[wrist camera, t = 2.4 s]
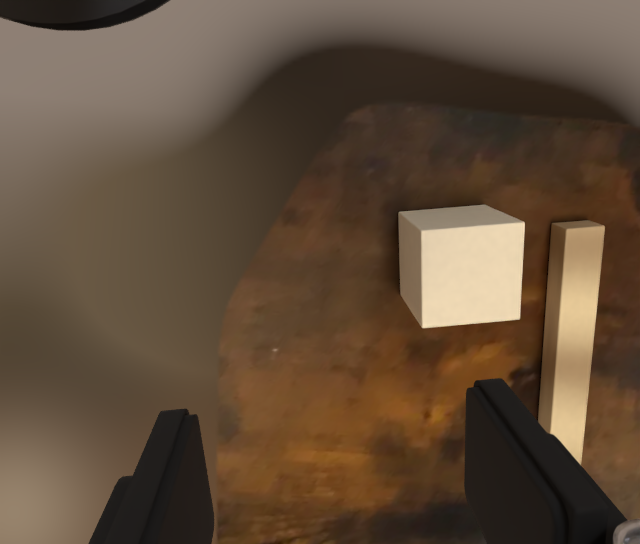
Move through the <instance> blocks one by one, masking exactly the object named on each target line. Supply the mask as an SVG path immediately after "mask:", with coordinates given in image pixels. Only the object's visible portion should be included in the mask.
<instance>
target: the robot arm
mask: <svg viewBox="0 0 640 544" xmlns="http://www.w3.org/2000/svg"><path fill="white" fill-rule="evenodd" d="M464 485H465V494H466V498H467V501H468V504H469V506H470V508H471V510H472V512H473V515H474V517H475V519H476V521H477V523H478V525H479V527H480V529H481V531H482V534H483V536H484V538H485V540H486V542H487V544H640V519H634V520H629V521H628V520H627V519H626V518H625V517H624V516H623V514H622V513H621V512H620V511H619V510H618V509H617V507H616V506H615V505H614V504H613V503H612V502H611V500H610V499H609V498H608V497H607V496H606V494H605V493H604V492H603V491H602V490H601V489H600V487H599V486H598V485H597V484H596V483H595V481H594V480H593V479H592V478H591V477H590V476H589V474H588V473H587V472H586V471H585V470H584V469H583V467H582V466H581V465H580V464H579V463H578V461H577V460H576V459H575V458H574V457H573V456H572V454H571V453H570V452H569V451H568V450H567V449H566V447H565V446H564V445H563V444H562V443H561V441H560V440H559V439H558V438H557V437H556V436H555V435H553V434H550V433H547V432H546V431H545V430H544V428H543V427H542V426H541V425H540V424H539V422H538V421H537V420H536V419H535V418H534V416H533V415H532V414H531V413H530V412H529V410H528V409H527V408H526V407H525V406H524V404H523V403H522V402H521V401H520V399H519V398H518V397H517V396H516V395H515V393H514V392H513V391H512V390H511V389H510V387H509V386H508V385H507V384H506V383H505V381H504V380H502V379H500V378H498V379H488V380H477V381H475V383H474V387H472V388H468V389H467V392H466V431H465V482H464ZM213 531H214V512H213V505H212V499H211V494H210V488H209V481H208V475H207V469H206V463H205V457H204V450H203V444H202V438H201V432H200V426H199V420H198V416H197V415H196V414H195V415H189V412H188V410H187V409H177V410H168V411H161V412H160V413H159V415H158V418H157V420H156V422H155V425H154V427H153V429H152V432H151V434H150V437H149V439H148V441H147V444H146V446H145V448H144V451H143V453H142V455H141V458H140V460H139V462H138V465H137V467H136V469H135V472H134V474H133V476H125V477H122V478H120V479H119V480H118V482H117V484H116V485H115V487H114V490H113V492H112V494H111V496H110V498H109V501H108V503H107V505H106V507H105V509H104V511H103V514H102V516H101V518H100V520H99V522H98V524H97V527H96V529H95V531H94V533H93V535H92V538H91V539H90V542H89V544H211V542H212V537H213Z"/></svg>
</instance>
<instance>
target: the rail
mask: <svg viewBox="0 0 640 544" xmlns="http://www.w3.org/2000/svg"><path fill="white" fill-rule="evenodd" d="M604 232H605V226H604V225H601V224H598V223H595V222H592V221H589V220H584V221H572V222H560V223H552V224H551V239H550V253H549V268H548V283H547V297H546V312H545V326H544V341H543V356H542V370H541V385H540V399H539V414H538V422H539V424H540V425H541V426H542V427H543V428H544V430H545V431H546V432H547V433H550V434H553V435H555V436H556V437H557V438H558V439H559V440H560V441H561V443H562V444H563V445H564V446H565V447H566V449H567V450H568V451H569V452H570V453H571V454H572V456H573V457H574V458H575V459H576V460H577V461H578V463H579V464H580V465H581V460H582V450H583V440H584V430H585V420H586V410H587V400H588V390H589V380H590V371H591V361H592V351H593V341H594V331H595V321H596V311H597V301H598V291H599V281H600V271H601V261H602V252H603V242H604Z"/></svg>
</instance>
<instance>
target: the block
mask: <svg viewBox="0 0 640 544" xmlns="http://www.w3.org/2000/svg"><path fill="white" fill-rule="evenodd" d="M398 220H399V262H400V295H401V296H402V298H403V300H404V301H405V303H406V304H407V306H408V307H409V309H410V310H411V312H412V313H413V315H414V316H415V318H416V320H417V321H418V323H419V324H420V326H421V327H422V328H432V327H443V326H453V325H464V324H475V323H486V322H497V321H508V320H519V319H520V307H521V288H522V269H523V250H524V231H525V222H523V221H521V220H519V219H516V218H514V217H512V216H509V215H507V214H505V213H503V212H500V211H498V210H496V209H493V208H491V207H489V206H487V205H475V206H463V207H451V208H438V209H426V210H414V211H402V212H399V213H398Z"/></svg>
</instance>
